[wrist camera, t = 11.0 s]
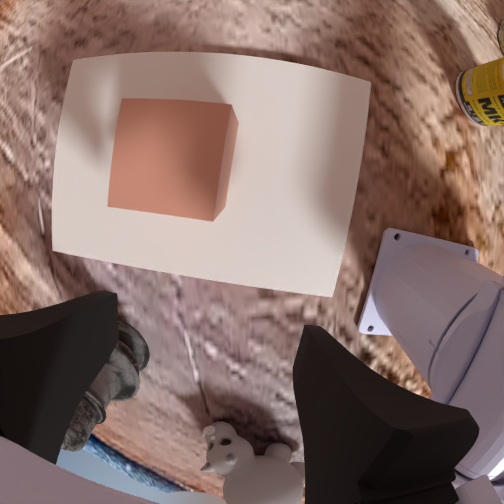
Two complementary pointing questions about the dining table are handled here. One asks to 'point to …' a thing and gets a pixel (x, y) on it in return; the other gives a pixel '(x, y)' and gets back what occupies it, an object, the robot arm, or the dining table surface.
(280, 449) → the round bodied animal figurine
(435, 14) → the dining table surface
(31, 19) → the dining table surface
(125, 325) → the salt shaker
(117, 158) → the cube
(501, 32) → the ceramic model
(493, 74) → the supplement bottle
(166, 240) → the tray
